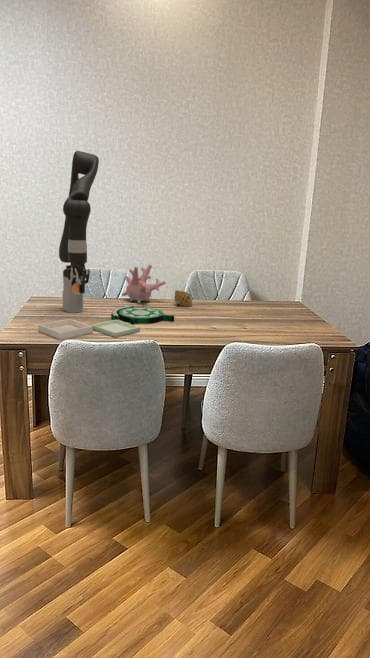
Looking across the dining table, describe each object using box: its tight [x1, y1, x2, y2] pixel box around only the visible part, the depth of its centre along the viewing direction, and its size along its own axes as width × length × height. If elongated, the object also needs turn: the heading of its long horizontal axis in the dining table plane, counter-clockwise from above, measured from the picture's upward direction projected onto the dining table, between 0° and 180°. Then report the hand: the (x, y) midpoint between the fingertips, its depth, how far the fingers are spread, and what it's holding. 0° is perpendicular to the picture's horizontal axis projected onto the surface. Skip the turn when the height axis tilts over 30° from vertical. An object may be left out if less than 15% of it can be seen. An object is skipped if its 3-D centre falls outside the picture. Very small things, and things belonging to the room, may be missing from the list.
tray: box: [90, 319, 141, 338], centre depth 212 cm, size 16×14×2 cm
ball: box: [72, 283, 81, 295], centre depth 203 cm, size 5×5×5 cm
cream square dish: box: [37, 318, 94, 341], centre depth 206 cm, size 16×16×3 cm
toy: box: [121, 264, 167, 304], centre depth 264 cm, size 18×21×20 cm
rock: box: [174, 289, 193, 308], centre depth 264 cm, size 12×9×10 cm
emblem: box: [110, 305, 175, 325], centre depth 233 cm, size 25×3×30 cm
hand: (78, 291), depth 203 cm, fingers closed on ball, 5 cm apart
